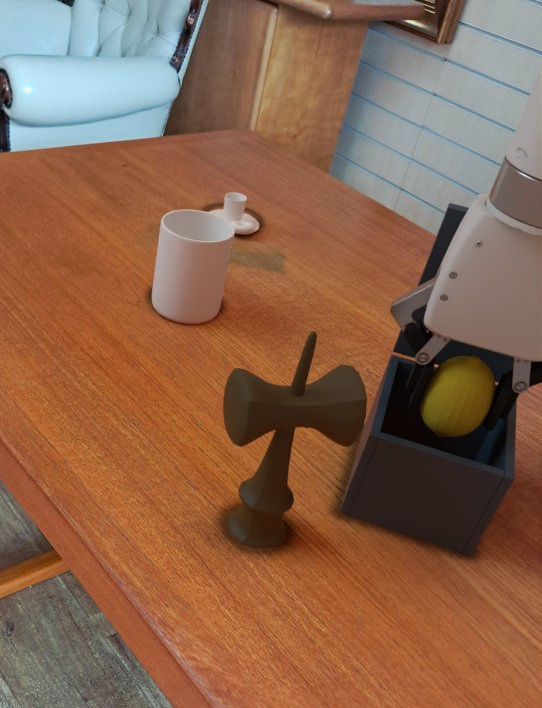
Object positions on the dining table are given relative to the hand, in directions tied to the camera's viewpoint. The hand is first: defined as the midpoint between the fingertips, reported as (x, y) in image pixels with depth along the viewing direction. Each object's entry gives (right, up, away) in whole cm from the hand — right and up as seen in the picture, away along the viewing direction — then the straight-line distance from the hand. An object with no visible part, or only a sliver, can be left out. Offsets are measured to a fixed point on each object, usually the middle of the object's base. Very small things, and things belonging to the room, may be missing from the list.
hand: (451, 408), depth 66 cm
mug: (-21, +16, +30) cm, 40 cm away
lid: (+3, +9, 0) cm, 9 cm away
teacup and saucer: (-17, +31, +46) cm, 58 cm away
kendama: (-16, -11, +1) cm, 20 cm away
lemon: (0, -2, +2) cm, 3 cm away
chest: (-1, -7, +8) cm, 11 cm away
